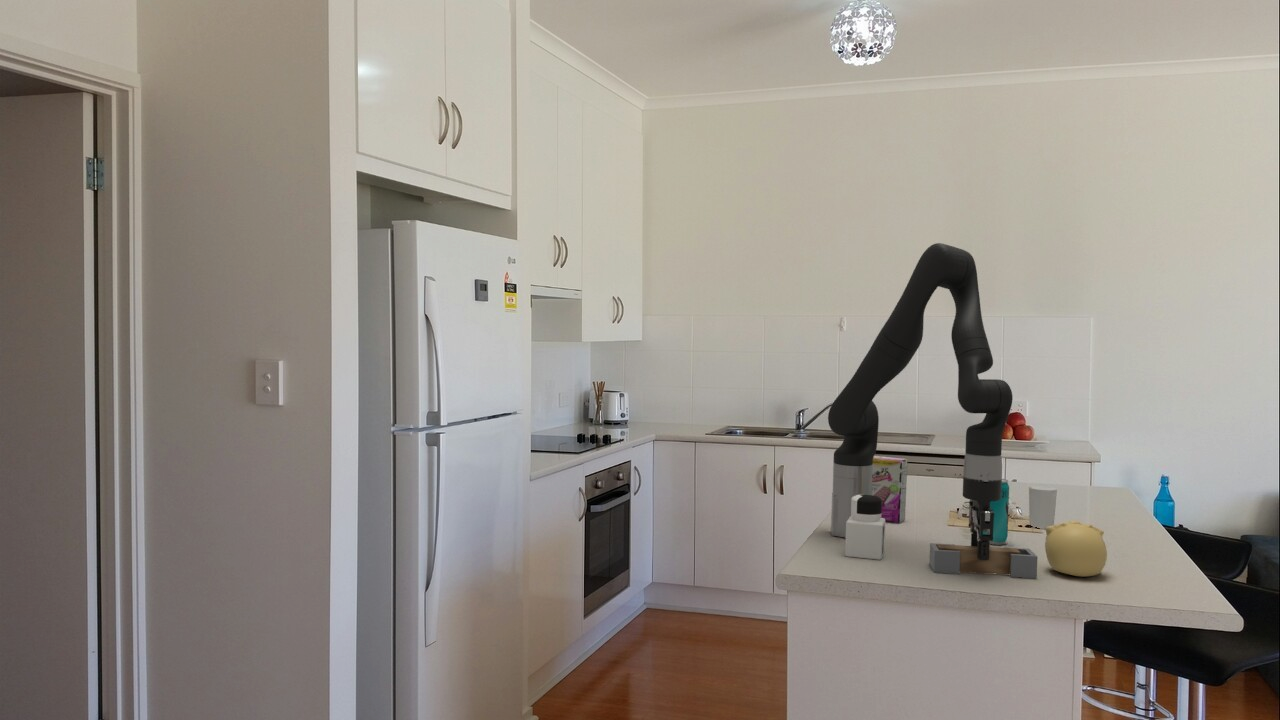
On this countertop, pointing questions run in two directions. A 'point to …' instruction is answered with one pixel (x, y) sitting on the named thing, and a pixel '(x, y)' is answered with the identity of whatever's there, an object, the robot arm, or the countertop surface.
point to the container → (865, 528)
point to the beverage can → (1000, 516)
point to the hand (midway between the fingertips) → (979, 555)
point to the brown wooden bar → (972, 564)
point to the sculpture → (1075, 548)
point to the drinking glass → (1042, 506)
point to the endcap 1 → (944, 560)
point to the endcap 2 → (1023, 564)
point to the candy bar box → (890, 486)
